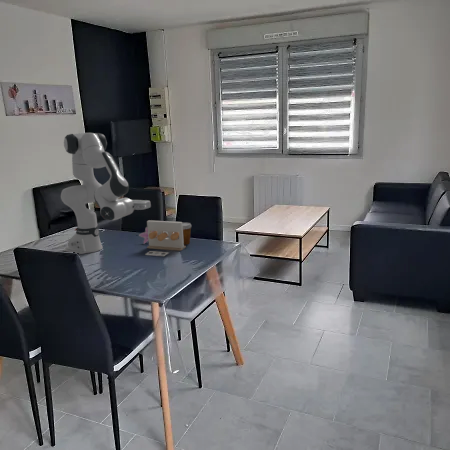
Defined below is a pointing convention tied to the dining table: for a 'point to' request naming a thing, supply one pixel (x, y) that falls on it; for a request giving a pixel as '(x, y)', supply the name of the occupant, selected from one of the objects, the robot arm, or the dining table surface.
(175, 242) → the panel
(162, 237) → the button middle
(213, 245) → the dining table surface
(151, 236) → the button left
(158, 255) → the card
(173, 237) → the button right
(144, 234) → the lily
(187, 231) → the disposable coffee cup
